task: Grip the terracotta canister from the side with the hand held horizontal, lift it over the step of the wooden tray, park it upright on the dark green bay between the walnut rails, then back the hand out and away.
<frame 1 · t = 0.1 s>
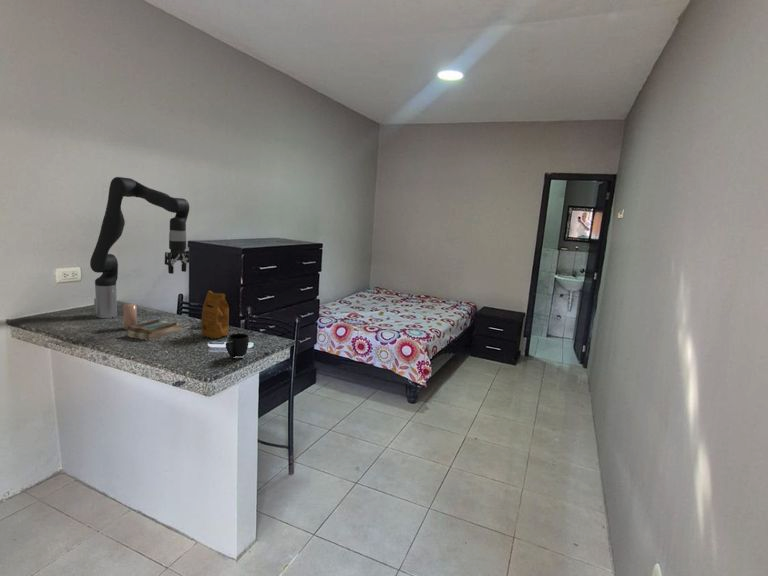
hand: (177, 272, 205), 29 cm above the worktop, tool pointing down, fingers open, 8 cm apart
canister: (130, 328, 205), on the worktop
coffee package: (214, 335, 206), on the worktop
wooden tray: (155, 333, 201), on the worktop
mug: (235, 358, 178), on the worktop
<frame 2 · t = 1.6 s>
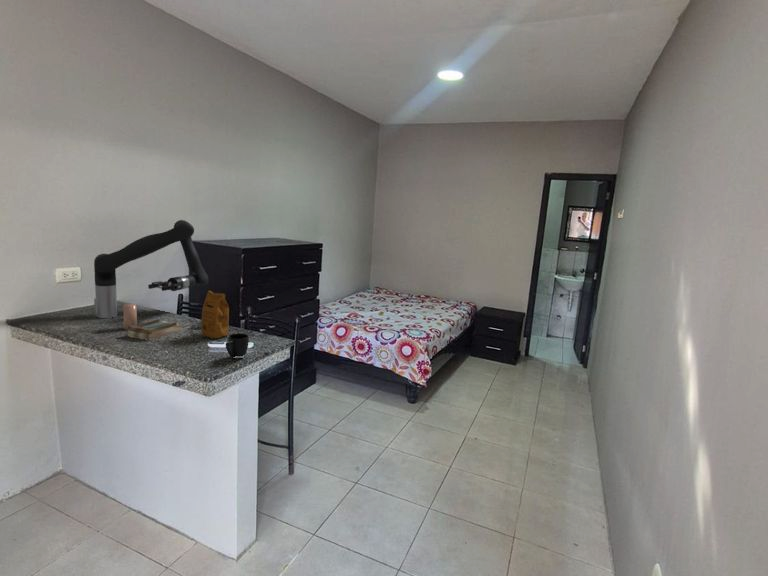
hand: (155, 287, 217), 18 cm above the worktop, tool horizontal, fingers open, 8 cm apart
nothing on the worktop moved.
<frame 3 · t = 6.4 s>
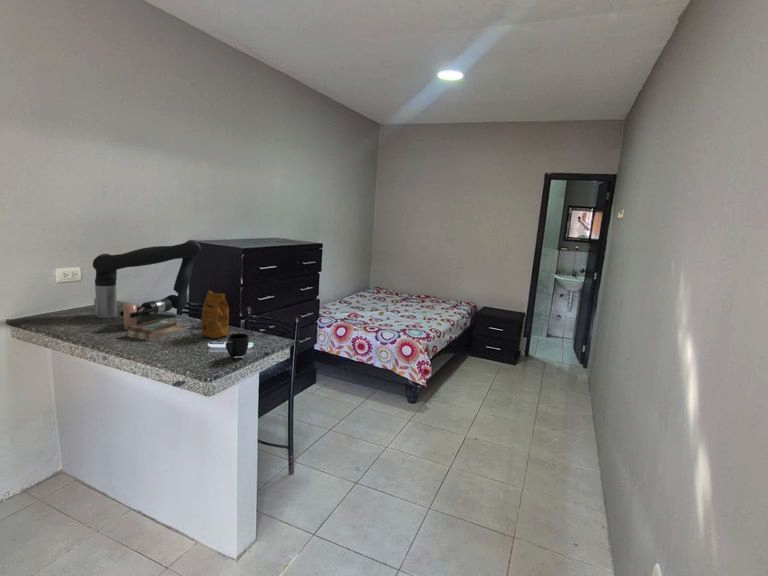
hand: (125, 314, 201), 8 cm above the worktop, tool horizontal, fingers closed on canister, 5 cm apart
canister: (130, 328, 205), on the worktop, touching gripper
everything else where it was.
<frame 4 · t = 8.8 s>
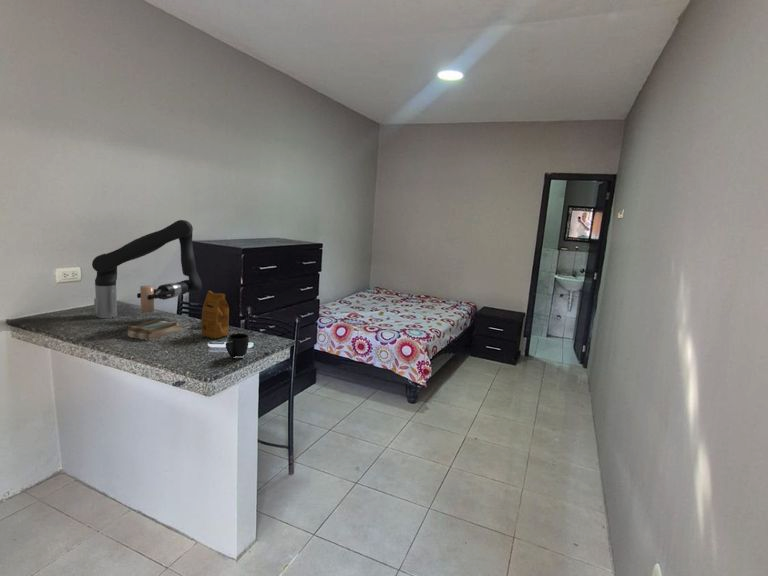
hand: (143, 296, 197), 18 cm above the worktop, tool horizontal, fingers closed on canister, 5 cm apart
canister: (147, 310, 201), point 10 cm above the worktop, touching gripper
everything else where it was.
when the fingers open (12 cm above the worktop, at t = 11.2 s): canister drops 1 cm, resting on wooden tray.
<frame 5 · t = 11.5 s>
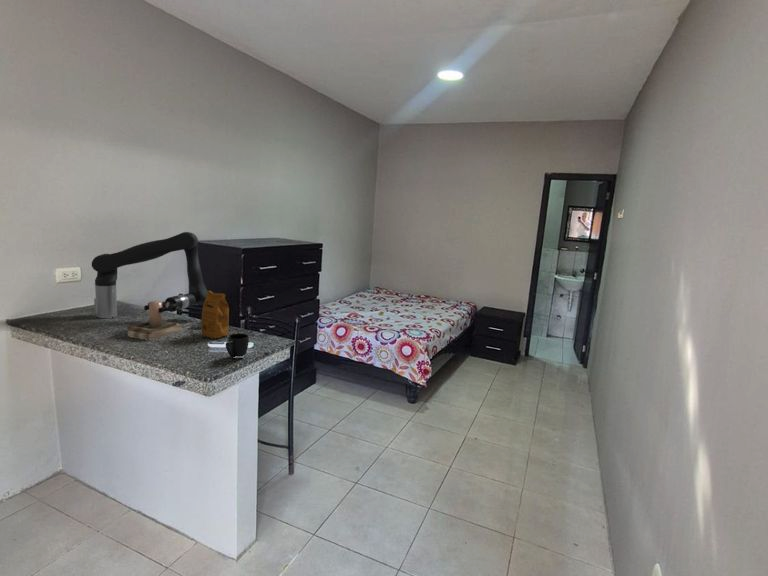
hand: (151, 309, 197), 12 cm above the worktop, tool horizontal, fingers open, 8 cm apart
canister: (155, 326, 201), point 3 cm above the worktop, touching wooden tray
everything else where it was.
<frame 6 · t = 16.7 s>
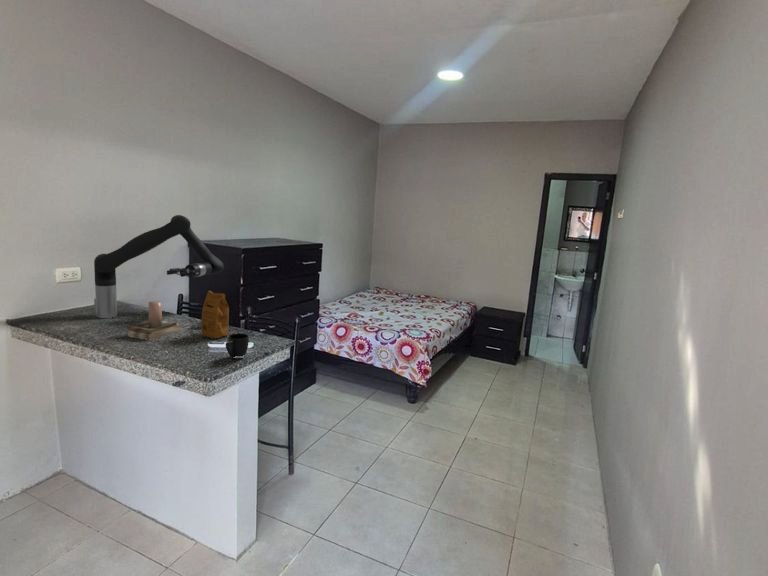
hand: (174, 273, 218), 26 cm above the worktop, tool horizontal, fingers open, 8 cm apart
nothing on the worktop moved.
at the end: canister 0.1 cm from the target spot, point 3.3 cm above the worktop; canister tilted 0°; the gripper is holding nothing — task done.
